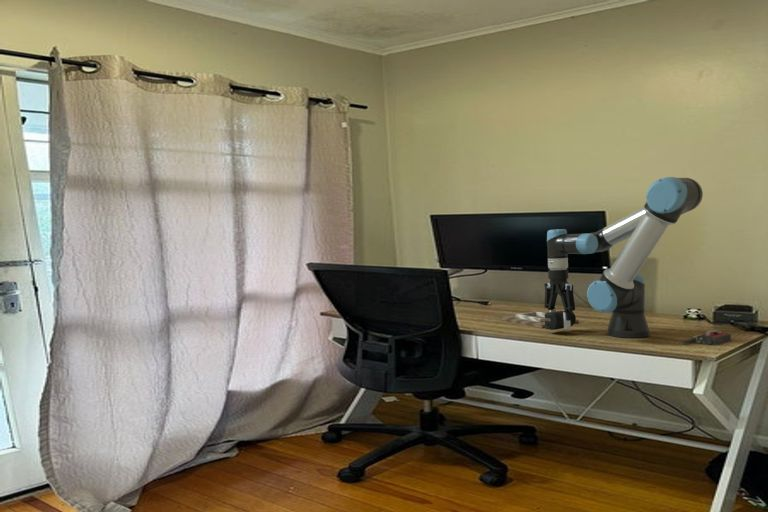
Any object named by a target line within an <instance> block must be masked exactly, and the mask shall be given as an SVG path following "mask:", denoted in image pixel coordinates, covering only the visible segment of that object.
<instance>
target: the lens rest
mask: <svg viewBox="0 0 768 512" xmlns="http://www.w3.org/2000/svg"><path fill="white" fill-rule="evenodd" d="M545 313H546V312H541V311H531V312H522V313H515V314H511V315H503V316H499V320H500V321H506V322H510V323H514V324H515V323H516V324H521V325H524V326H530V327H535V328H540V329H546V327H550V326H546V325H545V321H549V322H550V319H549V318H545ZM579 323H580V321H579V319H576V321H575V324H579Z"/></svg>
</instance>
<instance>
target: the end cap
mask: <svg viewBox="0 0 768 512" xmlns="http://www.w3.org/2000/svg"><path fill="white" fill-rule="evenodd" d="M564 311H565V310H558V311H557V310H556V312H553V313H552V312H549V311H548V312H544V313H545V318H549V319H550V322H549V321H545V325H546V326H550V327H546V328H545V330H550V331H556V330H562V329H564V316H563V312H564ZM576 318H577V317H576V314H575V313H574V311H571V320H570V324H571V327H573V325H575V324H576V323H575V321H576V320H577V319H576Z"/></svg>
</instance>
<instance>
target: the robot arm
mask: <svg viewBox="0 0 768 512" xmlns="http://www.w3.org/2000/svg"><path fill="white" fill-rule="evenodd" d="M703 193H704V192H703V189H702V186H701V185H700V184H699V182H697V181H696V179H693V178H690V177H676V176H675V177H674V176H666V177H663V178H659V179H656V180H655V181H654V182H653V183H651V185H650V186H649V187H648V189H647V191H646V194H645V195H646V197H645V198H646V202H645V204H644V205H643V206H642V207H641V208H639V209H636V210H635V211H633V212H631V213H629V214H627V215H626V216H624V217H622V218H620V219H618V220H616V221H615V222H612V223H611V224H609V225H607V226H605V227H603V228H602V229H599V230H598V231H595V232H590V233H589V232H588V233H586V232H585V233H569V234H568V231H567V229H565V228H564V229H563V228H561V229H560V228H559V229H558V228H557V229H555V228H554V229H549V230H547V233H546V245H547V267H548V270H547V272H548V273H547V276H548V277H547V278H548V280H550V281H549V282H547V283H544V306H543V307H544V308H545V309H547V310H548V313H549V312H552V313H553V312H557V310H556V309H557V308H556V307H555V306H556V303H557V299H558V295H559V296H560V299H561V302H562V305H563V309H564V310H563V311H564V312H563V316H564V328H563V329H564V330H569V329H571V328H572V326H571V324H570V320H571V311H572V312H574V311H575V310H576V304H575V297H574V285H573V284H569V283H568V279H569V269H568V268H569V262H568V261H569V258H568V257H569V255H570V254H573V255H574V254H575V255H588V254H589V255H590V254H594V253H599V252H600V253H602V252H605V251H609V250H610V249H612V247H613V246H614V245H617V244H619V243H620V242H623V241H624V240H626V239H628V240H627V241H626V244H625V245H624V247H623V248H622V250H621V252H620V253H619V254H618V256H617V258H616V259H615V261H614V263H613V264H612V266H610V267H611V268H606V269H605V270H603V272H602V274H601V275H600V277H599V279H598V280H594V281H593V282H591V284H589V286H588V288H587V290H586V291H587V292H586V297H587V300H588V303H589V305H590V306H591V308H592V309H594V310H595V311H597V312H600V313H611V315H610V319H609V323H608V326H607V327H606V333H607V335H608V336H610V337H616V338H624V339H630V338H631V339H637V338H638V339H640V338H647V337H649V336H650V334H651V329H650V326H649V325H648V321H647V319H646V315H645V314H646V313H645V309H646V307H645V301H646V299H645V296H646V295H645V293H646V292H645V288H646V287H645V286H646V283H645V277H644V276H643V275H641V274H638V273H639V272H640V270H641V269H642V267H643V266H644V264H645V263H646V261H647V259H648V258H649V256H650V255H651V254H652V251H653V250H654V248H655V247H656V246H657V244H658V242H659V240H660V239H661V238H662V236H663V235H664V233H665V231H666V230H667V229H668V227H669V226H670V225H674V224H676V223H677V222H678V220H679V219H680V217H681V216H682V215H684V214H686V213H688V212H690V211H694V210H695V209H697V207H699V205H700V204H701V202H702V200H703V195H704V194H703Z"/></svg>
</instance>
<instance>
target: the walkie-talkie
mask: <svg viewBox="0 0 768 512" xmlns="http://www.w3.org/2000/svg"><path fill="white" fill-rule="evenodd" d="M731 336H732V334H731V333H729V332H725V331H724V332H723V331H722V330H717V329H715V330H713V329H710V330H707V331H704V333H703V334H697V335H692V336H691V338H688V339H684V340H681V344H687V343H698V344H703V345H704V344H705V345H710V346H711V345H712V346H717V345H721V344H724V343H728V342H731V341H732V340H731Z"/></svg>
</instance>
